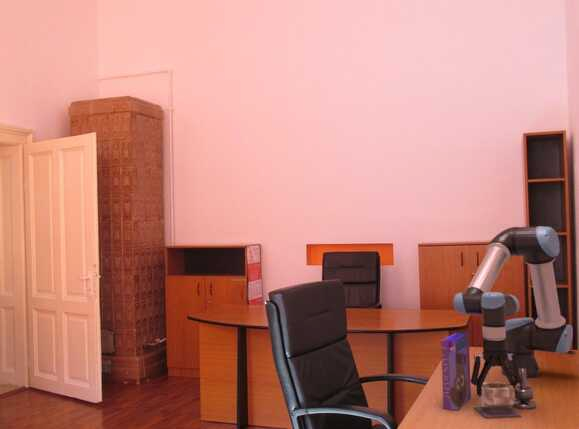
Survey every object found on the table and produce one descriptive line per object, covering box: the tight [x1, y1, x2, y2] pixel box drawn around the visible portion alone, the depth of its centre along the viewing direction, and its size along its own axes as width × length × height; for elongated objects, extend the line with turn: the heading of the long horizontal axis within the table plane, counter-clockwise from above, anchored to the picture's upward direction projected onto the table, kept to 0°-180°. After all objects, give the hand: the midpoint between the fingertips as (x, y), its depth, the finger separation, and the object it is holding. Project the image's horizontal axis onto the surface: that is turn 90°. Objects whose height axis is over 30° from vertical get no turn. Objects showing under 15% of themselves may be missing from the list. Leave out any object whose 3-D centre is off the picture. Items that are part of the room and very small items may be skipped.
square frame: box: [478, 381, 516, 406], centre depth 206 cm, size 9×9×5 cm
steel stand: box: [511, 368, 537, 410], centre depth 212 cm, size 8×8×13 cm
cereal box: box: [440, 331, 472, 412], centre depth 217 cm, size 17×5×24 cm, turn 148°
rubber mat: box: [473, 404, 522, 419], centre depth 206 cm, size 12×11×1 cm
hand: (496, 404), depth 206 cm, fingers open, 9 cm apart
